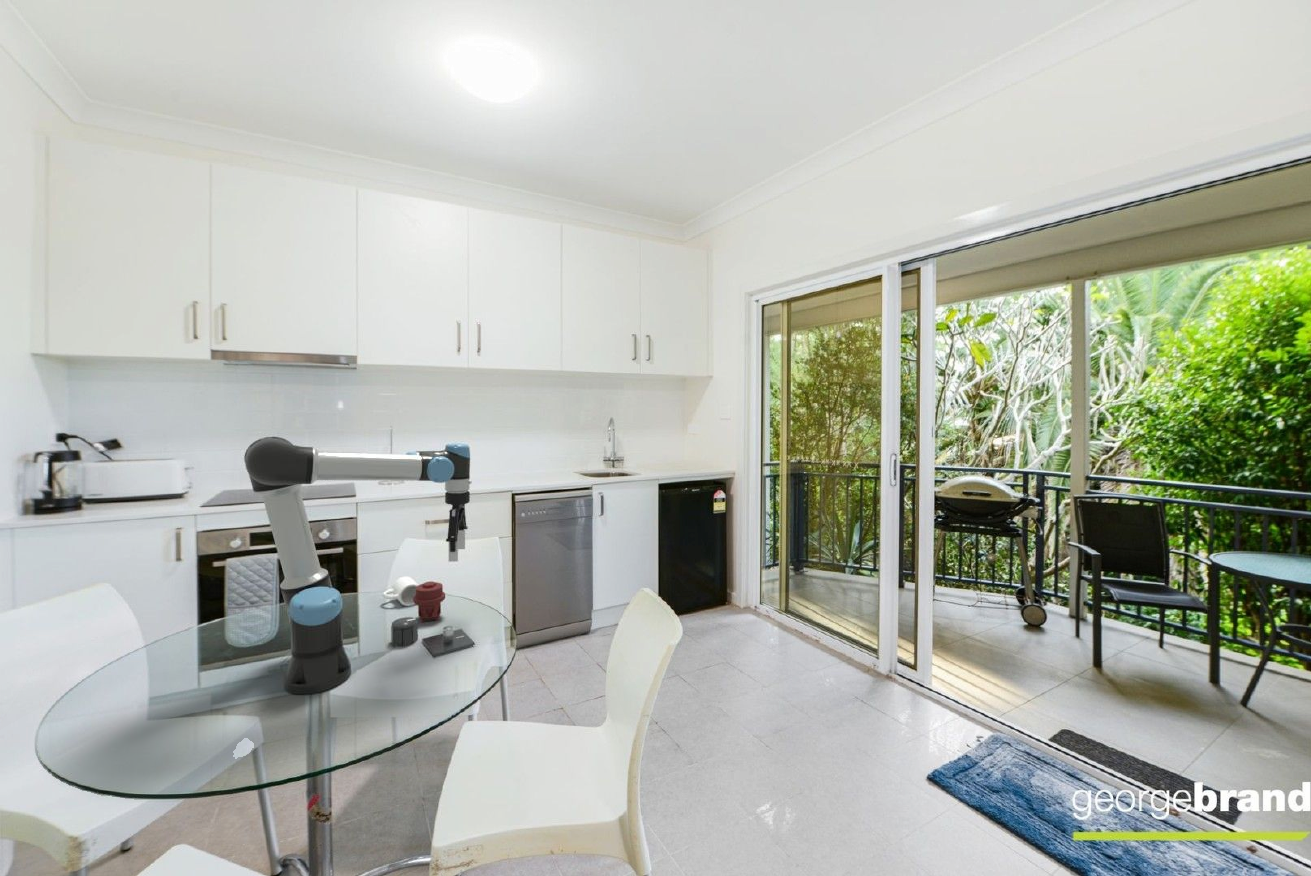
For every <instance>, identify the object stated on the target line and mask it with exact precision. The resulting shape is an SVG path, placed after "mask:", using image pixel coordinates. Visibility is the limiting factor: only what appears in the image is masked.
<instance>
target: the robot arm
mask: <svg viewBox="0 0 1311 876" xmlns="http://www.w3.org/2000/svg"><path fill="white" fill-rule="evenodd" d="M243 459H244V464H245V469H246V472H247V473H248V477H249V479H250V483H251V486H252V490H253V493H254V494H257V495H258V496H261V498H262V501H263V504H264V509H265V511H266V514H267V519H268V522H269V526H270V529H271V532H272V536H273V540H274V543H275V548H276V551H277V554H278V557H279V558H278V559H279V563H280V566H281V568H282V573H283V576H284V579H283V581H282V582H281V583H280V585H279V586H280V590H281V591H280V592H281V594H282V597H283V600H284V607H285V610H286V612H287V617H288V621H289V622H288V623H289V630H290V649H291V650H290V651H291V657H290V660H289V663H288V665H287V670H286V673H285V675H284V680H283V681H284V682H283V683H284V690H285V691H286V692H288V693H290V694H293V695H312V694H316V693H321V692H325V691H327V690H331V689H333V688H336V687H338V686H340V685H341V684H343V683H344V682H346V681H347V680H348V679H349V678H350V676H351V675H352V664H351V660H350V659H349V656H348V654H347V652H346V649H345V648H344V639H343V637H344V635H343V633H344V632H343V611H342V610H343V599H342V594H341V593H340V591H339V590H338V589H336V588H334V587H333V585H332V581H331V578H330V574H329V571H328V570H327V569H325V568H322V566H321V565H320V561H319V560H320V559H319V557H318V553H317V549H316V545H315V541H314V537H313V534H312V530H311V527H310V526H311V525H310V522H309V518H308V515H307V511H306V508H305V504H304V499H303V495H302V492H301V487H302V485H312V484H313V483H314V482H316V481H394V482H395V481H397V482H399V481H406V482H407V481H413V482H415V481H416V482H418V481H419V482H425V481H426V482H433V483H438V484H443V483H444V490H445V491H446V492H444V502H445V504H447V505H451V509H449V515H448V516H449V518H448V527H447V530H448V531H447V538H446V539H445V542H447V543H448V562H459V550H465V549H466V530H468V529H469V528H468V525H467V521H466V520H467V517H466V505H467V504H469V503H470V501H471V500H470V498H471V497H470V495H471V493H470V491H469V490H470V488H471V487H470V485H471V484H472V480H471V479H470V476H471V475H470V473H471V472H470V471H471V450H470V446H469V444H466V443H448V444H445V448H444V450H425V451H424V450H421V451H420V450H416V451H408V452H406V454H405V453H404V454H401V453H399V454H398V453H397V454H396V453H379V452H378V453H375V452H350V451H349V452H346V451H345V452H344V451H341V452H340V451H320V450H317V449H316V448H315V447H314V446H313V447H312V446H300V445H296V444H295V445H294V444H293V443H292V442H290V440H287V439H286V438H283V437H279V436H266V437H263V438H259V439H257V440H255V441H253V442H252V443H251V444H250V445H249V446H248V447H247V448H246V450H245V453H244V458H243Z"/></svg>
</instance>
